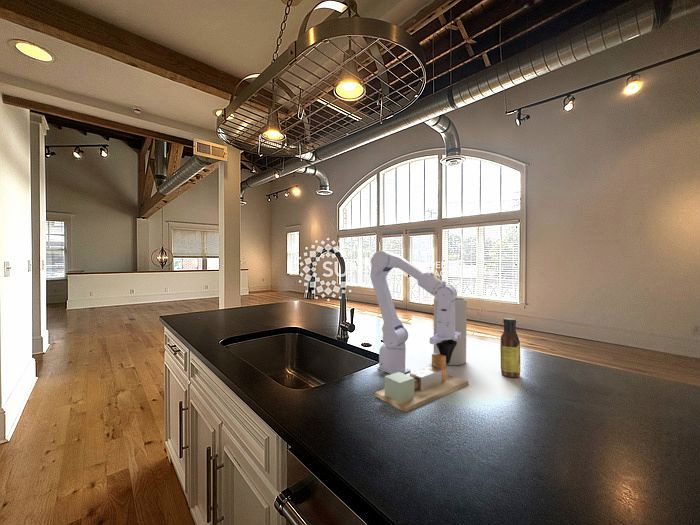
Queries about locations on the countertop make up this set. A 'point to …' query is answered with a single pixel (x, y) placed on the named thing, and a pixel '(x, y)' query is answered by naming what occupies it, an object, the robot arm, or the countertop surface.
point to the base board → (425, 394)
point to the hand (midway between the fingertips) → (445, 362)
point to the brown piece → (438, 363)
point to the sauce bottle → (510, 349)
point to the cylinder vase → (460, 326)
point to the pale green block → (399, 386)
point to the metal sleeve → (428, 378)
